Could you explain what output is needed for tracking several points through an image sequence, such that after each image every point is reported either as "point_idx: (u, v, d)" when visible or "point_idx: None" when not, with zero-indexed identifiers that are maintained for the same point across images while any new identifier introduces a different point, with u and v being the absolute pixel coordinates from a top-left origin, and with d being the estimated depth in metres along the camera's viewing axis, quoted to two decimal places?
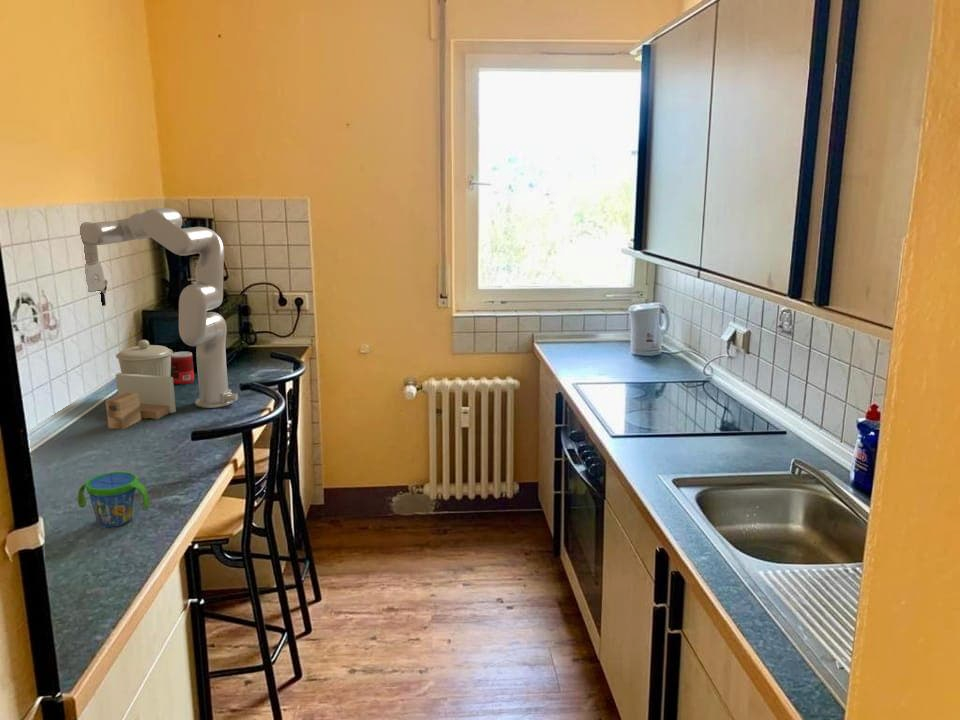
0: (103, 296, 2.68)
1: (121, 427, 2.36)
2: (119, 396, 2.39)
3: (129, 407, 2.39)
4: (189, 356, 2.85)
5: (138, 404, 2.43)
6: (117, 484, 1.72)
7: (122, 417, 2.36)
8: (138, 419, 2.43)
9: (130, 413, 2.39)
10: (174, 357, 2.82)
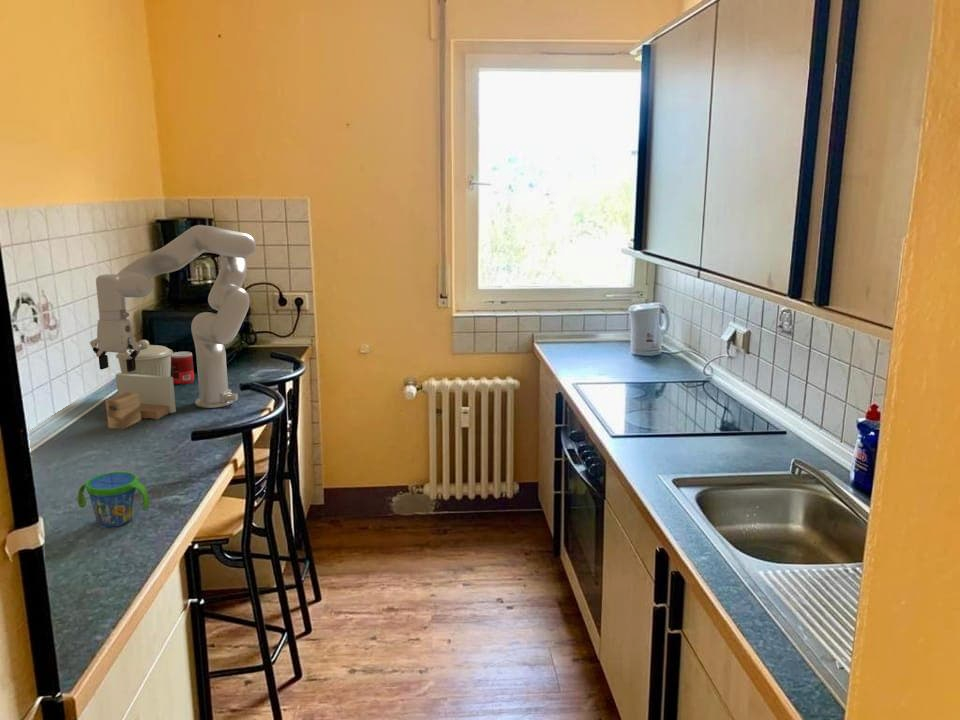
0: (107, 357, 2.38)
1: (121, 427, 2.36)
2: (119, 396, 2.39)
3: (129, 407, 2.39)
4: (189, 356, 2.85)
5: (138, 404, 2.43)
6: (117, 484, 1.72)
7: (122, 417, 2.36)
8: (138, 419, 2.43)
9: (130, 413, 2.39)
10: (174, 357, 2.82)
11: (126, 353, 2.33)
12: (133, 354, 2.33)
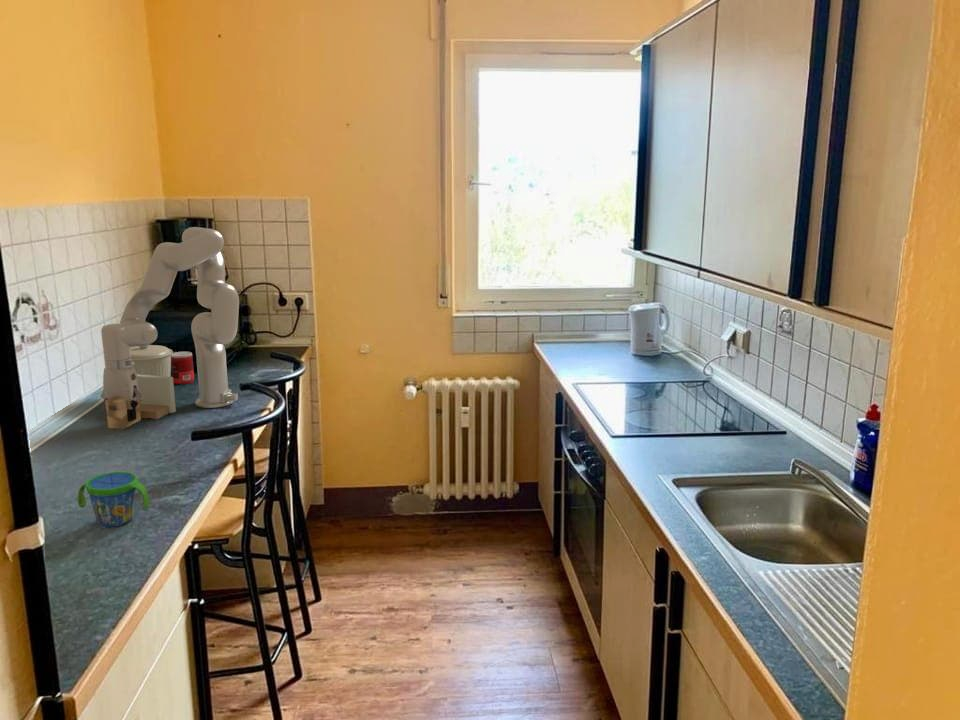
0: None
1: (121, 427, 2.36)
2: None
3: None
4: (189, 356, 2.85)
5: (138, 404, 2.43)
6: (117, 484, 1.72)
7: (122, 417, 2.36)
8: (138, 419, 2.43)
9: None
10: (174, 357, 2.82)
11: (128, 403, 2.37)
12: (133, 404, 2.37)
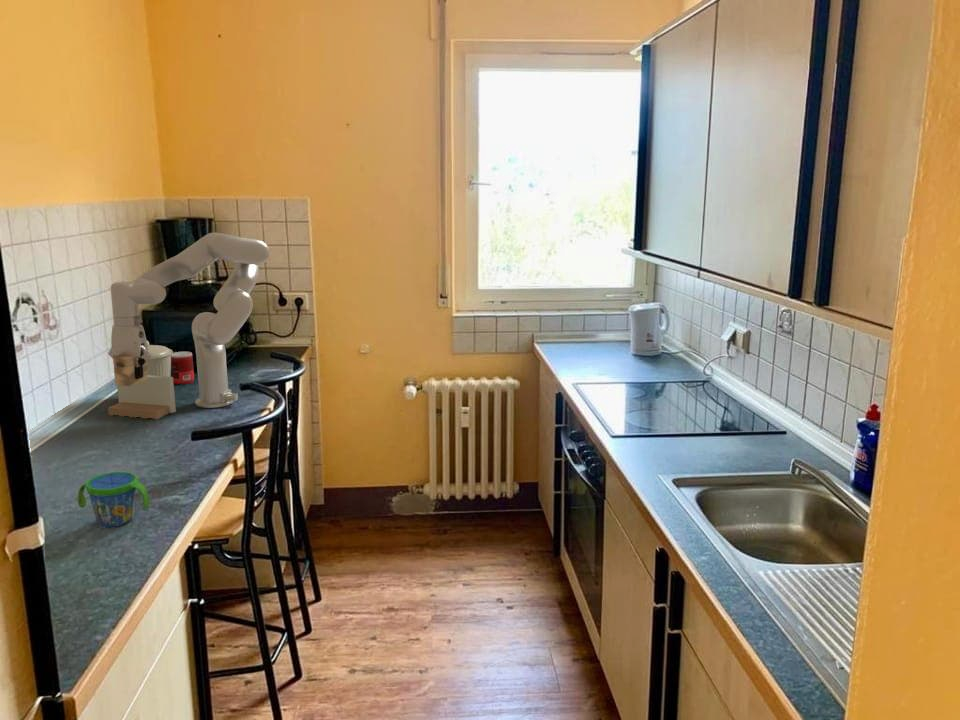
0: None
1: (128, 384, 2.38)
2: None
3: None
4: (189, 356, 2.85)
5: (145, 363, 2.45)
6: (117, 484, 1.72)
7: (129, 374, 2.38)
8: (145, 377, 2.46)
9: None
10: (174, 357, 2.82)
11: (135, 360, 2.39)
12: (141, 362, 2.40)
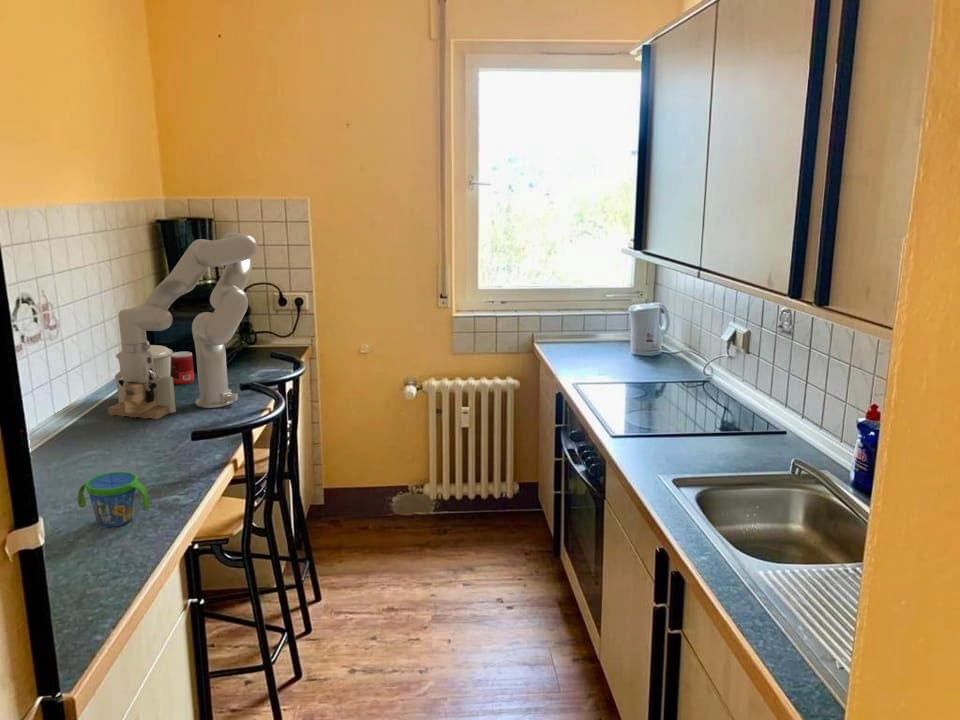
0: None
1: (138, 411, 2.43)
2: None
3: (145, 392, 2.46)
4: (189, 356, 2.85)
5: (154, 389, 2.50)
6: (117, 484, 1.72)
7: (139, 401, 2.43)
8: (154, 404, 2.50)
9: None
10: (174, 357, 2.82)
11: (146, 385, 2.44)
12: (152, 386, 2.44)
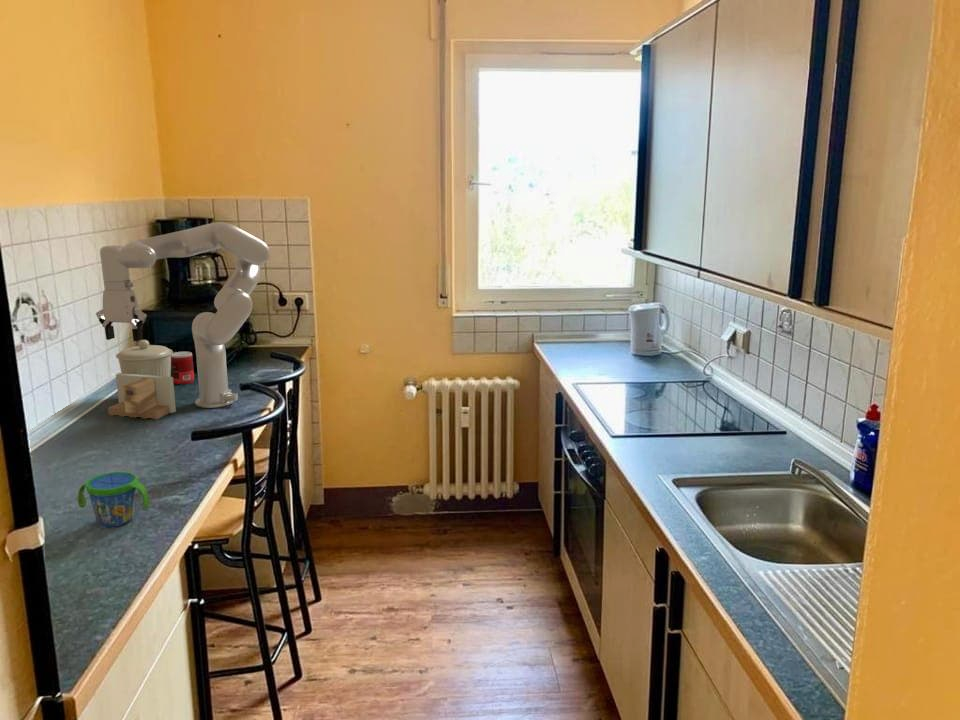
0: (113, 327, 2.42)
1: (138, 411, 2.43)
2: (135, 381, 2.46)
3: (145, 392, 2.46)
4: (189, 356, 2.85)
5: (154, 389, 2.50)
6: (117, 484, 1.72)
7: (139, 401, 2.43)
8: (154, 404, 2.50)
9: (146, 398, 2.46)
10: (174, 357, 2.82)
11: (132, 323, 2.37)
12: (139, 324, 2.37)
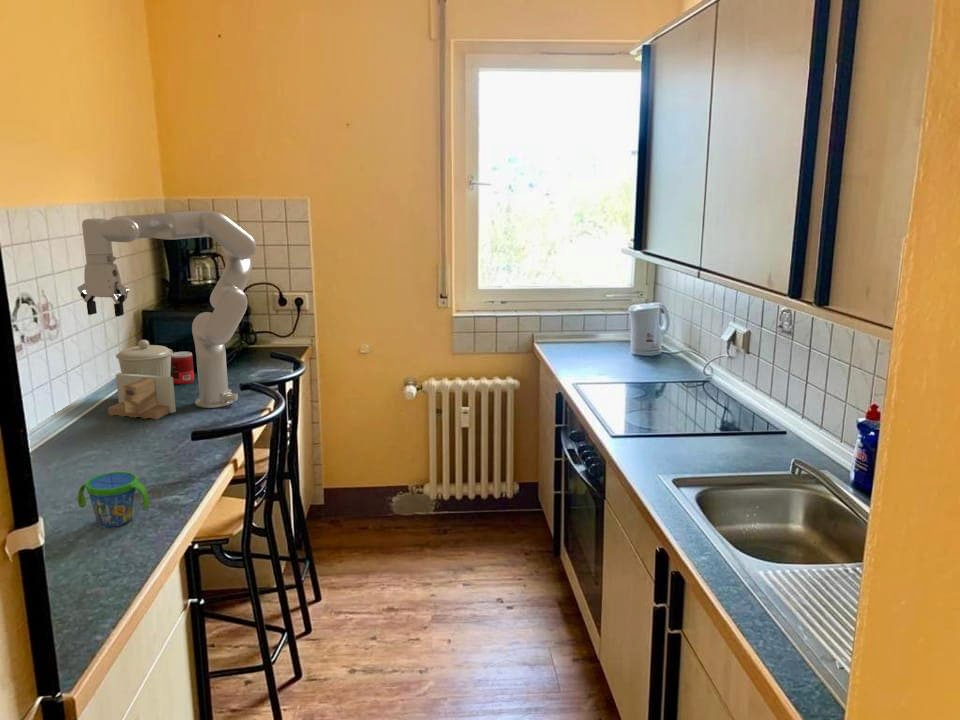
0: (95, 303, 2.38)
1: (138, 411, 2.43)
2: (135, 381, 2.46)
3: (145, 392, 2.46)
4: (189, 356, 2.85)
5: (154, 389, 2.50)
6: (117, 484, 1.72)
7: (139, 401, 2.43)
8: (154, 404, 2.50)
9: (146, 398, 2.46)
10: (174, 357, 2.82)
11: (114, 297, 2.33)
12: (121, 298, 2.33)
